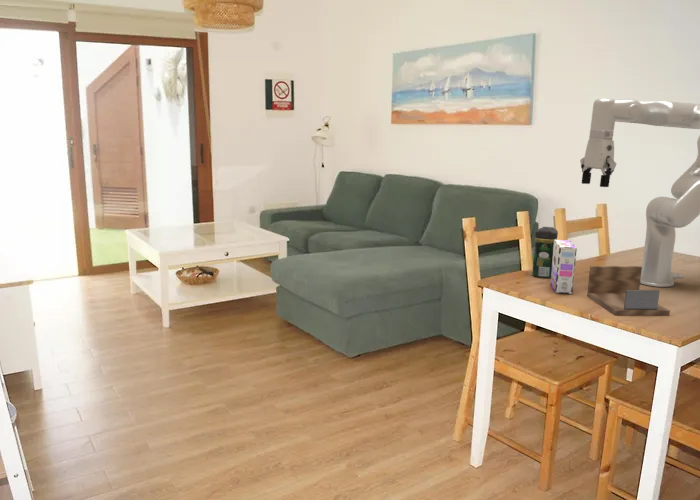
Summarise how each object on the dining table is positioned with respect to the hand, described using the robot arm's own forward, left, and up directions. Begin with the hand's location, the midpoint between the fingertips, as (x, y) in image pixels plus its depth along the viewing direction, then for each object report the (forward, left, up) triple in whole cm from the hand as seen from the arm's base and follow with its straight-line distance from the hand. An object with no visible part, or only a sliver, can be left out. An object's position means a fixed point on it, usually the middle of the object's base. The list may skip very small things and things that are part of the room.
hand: (594, 185), depth 208 cm
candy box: (+11, +7, -36) cm, 38 cm away
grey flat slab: (-3, +34, -34) cm, 49 cm away
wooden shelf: (-3, +26, -36) cm, 44 cm away
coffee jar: (+11, -11, -36) cm, 39 cm away
